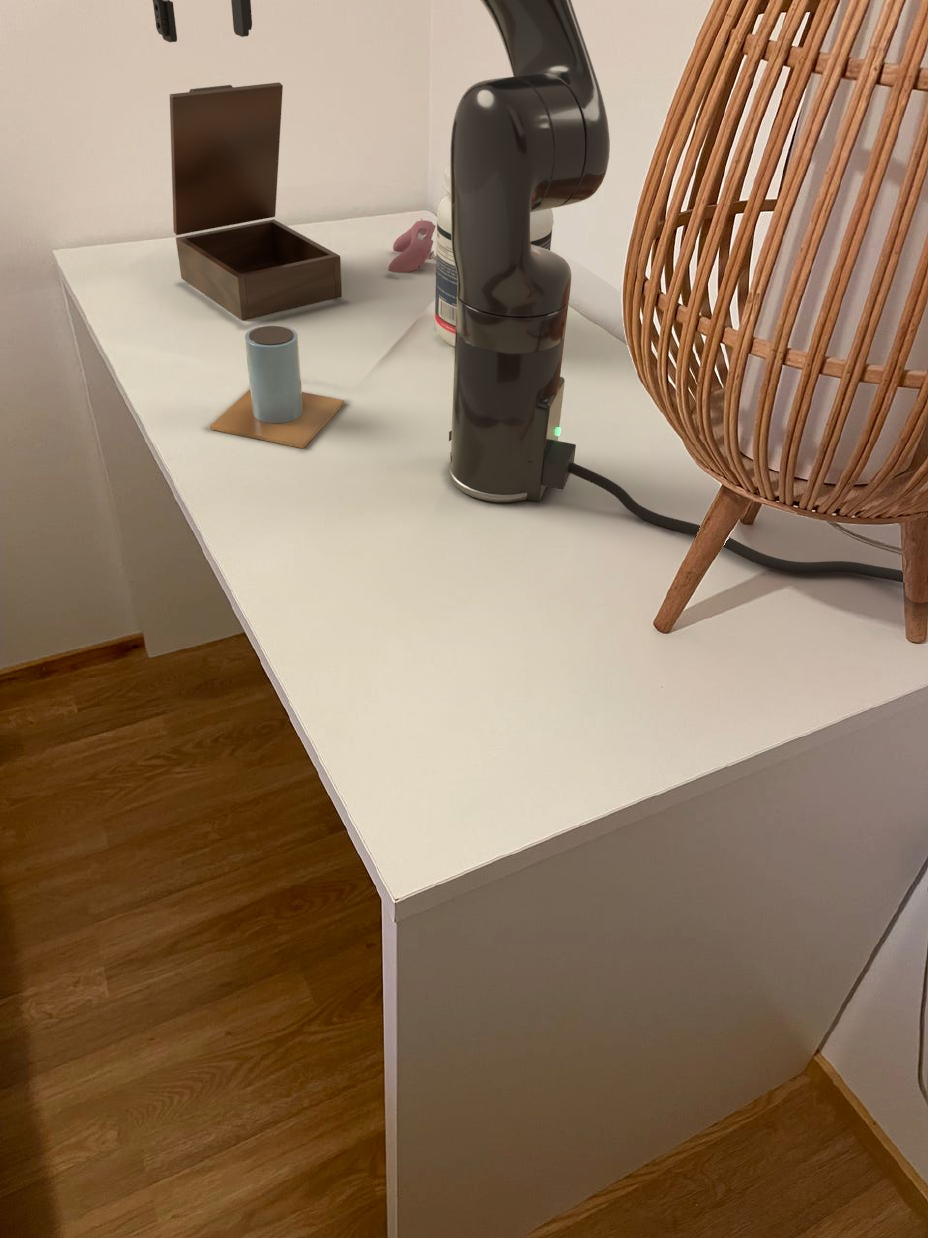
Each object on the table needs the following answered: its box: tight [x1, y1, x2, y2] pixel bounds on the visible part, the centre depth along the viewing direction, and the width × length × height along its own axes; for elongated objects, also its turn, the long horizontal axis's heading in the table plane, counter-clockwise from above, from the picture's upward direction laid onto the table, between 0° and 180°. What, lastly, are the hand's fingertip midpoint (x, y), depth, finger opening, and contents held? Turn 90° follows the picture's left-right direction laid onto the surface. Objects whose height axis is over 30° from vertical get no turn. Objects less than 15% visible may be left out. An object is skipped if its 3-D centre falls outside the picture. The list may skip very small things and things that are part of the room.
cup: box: [244, 324, 303, 424], centre depth 95 cm, size 5×5×8 cm
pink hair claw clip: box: [388, 217, 436, 273], centre depth 130 cm, size 10×5×7 cm, turn 179°
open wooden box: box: [175, 219, 343, 322], centre depth 120 cm, size 16×14×6 cm
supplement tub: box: [434, 164, 554, 348], centre depth 109 cm, size 13×13×18 cm
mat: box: [209, 389, 345, 449], centre depth 98 cm, size 10×10×1 cm
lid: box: [169, 82, 284, 236], centre depth 117 cm, size 17×14×5 cm
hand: (206, 37), depth 106 cm, fingers open, 8 cm apart
